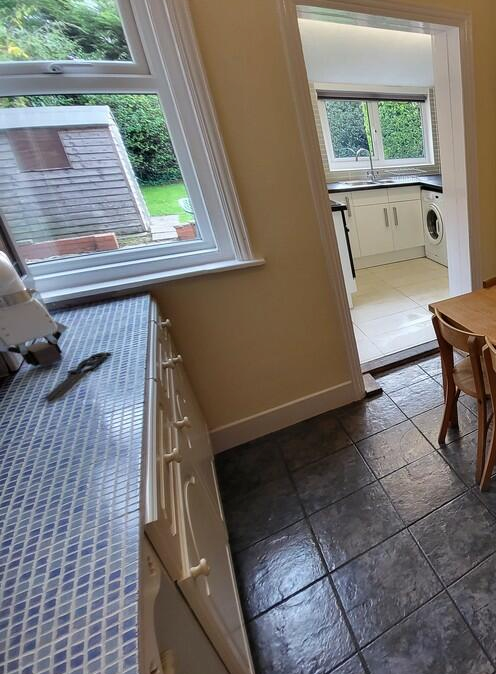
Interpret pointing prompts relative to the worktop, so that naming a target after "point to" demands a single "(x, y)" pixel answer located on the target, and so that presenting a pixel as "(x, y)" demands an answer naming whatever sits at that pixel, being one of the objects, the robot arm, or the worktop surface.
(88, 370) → the knife
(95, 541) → the worktop surface
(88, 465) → the worktop surface
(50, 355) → the walnut bar
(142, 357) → the worktop surface
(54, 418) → the worktop surface
